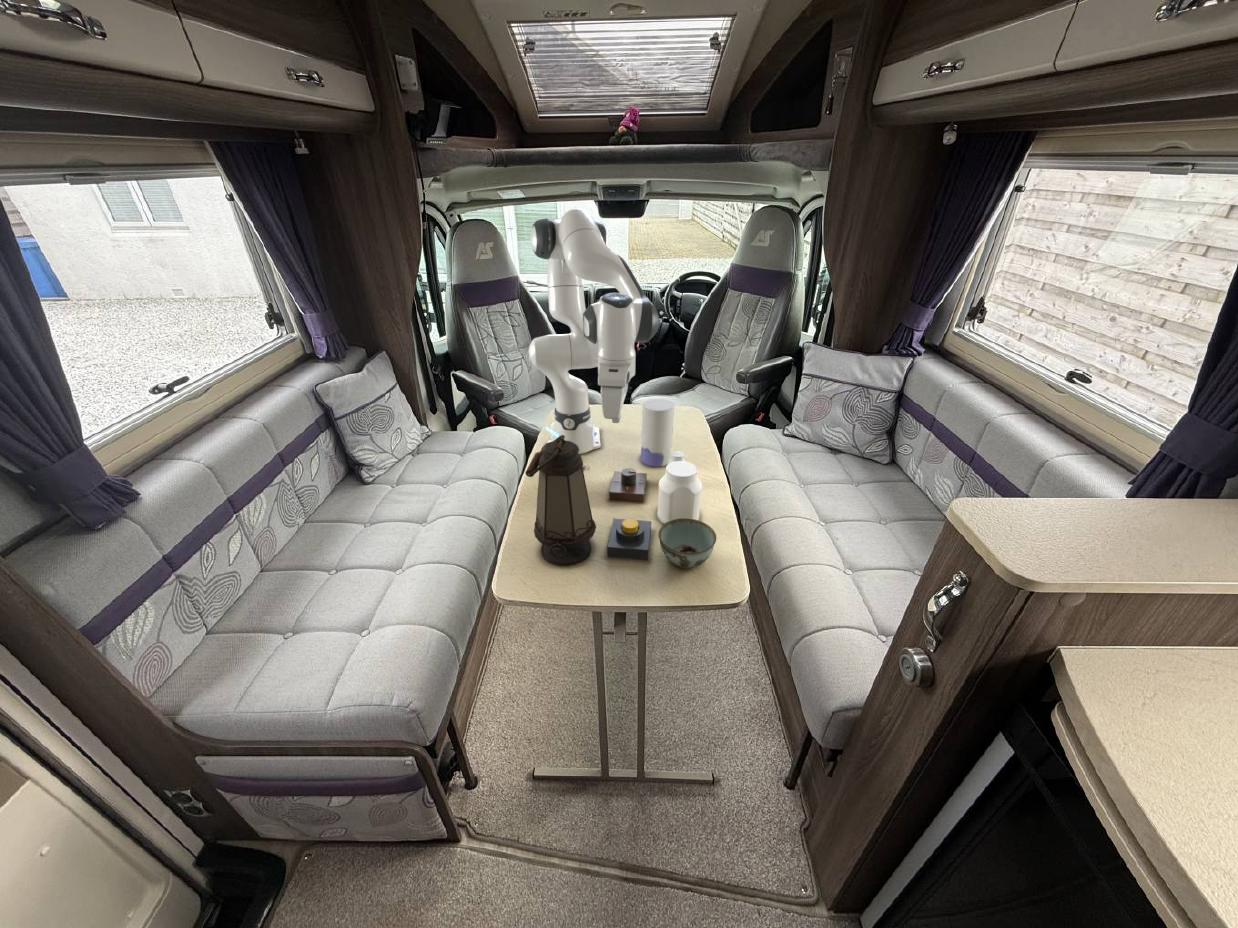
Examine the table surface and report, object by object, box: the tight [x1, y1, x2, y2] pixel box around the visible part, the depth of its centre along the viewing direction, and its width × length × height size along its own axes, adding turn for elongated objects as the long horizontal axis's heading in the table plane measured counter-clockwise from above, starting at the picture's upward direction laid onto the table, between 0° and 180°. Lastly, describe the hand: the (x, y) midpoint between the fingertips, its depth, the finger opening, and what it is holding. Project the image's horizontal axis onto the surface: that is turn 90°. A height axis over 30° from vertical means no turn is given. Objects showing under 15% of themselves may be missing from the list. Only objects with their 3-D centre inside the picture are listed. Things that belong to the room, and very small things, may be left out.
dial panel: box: [608, 470, 648, 504], centre depth 148 cm, size 12×10×3 cm
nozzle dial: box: [620, 467, 637, 486], centre depth 147 cm, size 4×4×4 cm
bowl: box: [658, 518, 717, 570], centre depth 119 cm, size 14×13×8 cm
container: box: [640, 398, 675, 468], centre depth 161 cm, size 10×10×20 cm
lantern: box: [524, 435, 597, 567], centre depth 118 cm, size 18×15×30 cm
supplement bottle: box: [667, 450, 687, 465], centre depth 151 cm, size 5×5×10 cm
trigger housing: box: [606, 518, 652, 561], centre depth 126 cm, size 12×10×5 cm
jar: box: [656, 460, 703, 524], centre depth 134 cm, size 12×10×15 cm
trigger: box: [622, 518, 638, 533], centre depth 124 cm, size 4×4×2 cm
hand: (616, 420), depth 124 cm, fingers closed
